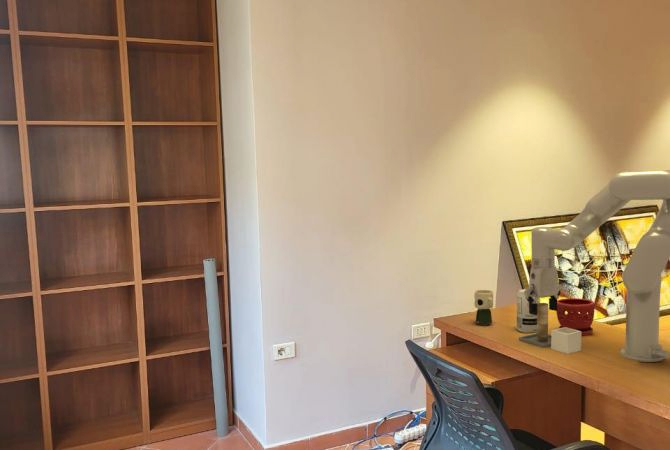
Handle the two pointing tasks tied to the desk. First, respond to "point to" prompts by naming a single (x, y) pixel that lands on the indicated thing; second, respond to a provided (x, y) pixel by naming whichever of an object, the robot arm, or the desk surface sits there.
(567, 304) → the plant pot
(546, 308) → the dowel
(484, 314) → the character mug
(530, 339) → the tray
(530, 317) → the supplement can
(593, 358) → the desk surface
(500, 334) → the desk surface
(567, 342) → the white open square box
